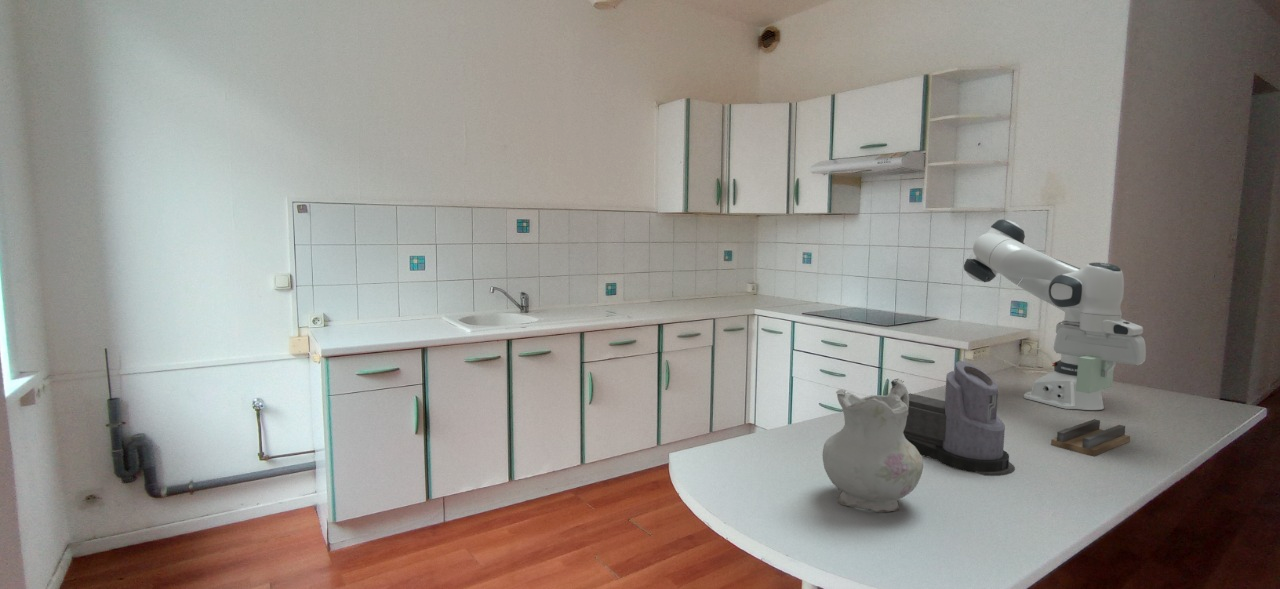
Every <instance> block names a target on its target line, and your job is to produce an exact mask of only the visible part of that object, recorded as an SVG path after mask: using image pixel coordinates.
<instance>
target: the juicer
mask: <svg viewBox="0 0 1280 589" xmlns="http://www.w3.org/2000/svg"><path fill="white" fill-rule="evenodd" d="M945 379H946V381H945V394H944V395H945V398H944V400H942V399H936V398H933V397H929V396H925V395H924V396H923V395H919V394H915V393H908V394H909V408H908V416H907V420H906V426H905V429H904V432H903V434H904V436H905V438H906V439H907V440H908V441H909V442H910V443H911V444H913V445H914V446H915V447H916V449H917V450H918V452H919V453H920V455H921V456H924V457H927V458H931V459H933V460H936V461H938V462H940V464H943V465H946V466H947V467H950V468H953V469H957V470H960V471H964V472H970V473H976V474H978V475H982V476H987V477H996V476H997V477H998V476H999V477H1000V476H1007V475H1009V474H1010V475H1011V474H1012V473H1014V472H1015V471H1016V468H1015V465H1014V464H1013V463H1011V461H1010V454H1009V453H1008V452H1007V451H1005V450H1004V446H1005V445H1004V444H1005V433H1006V432H1005V431H1006V430H1005V429H1006V425H1005V423H1004V422H1003V420H1002V419H1001V418H1000V417H999V416H998V413H997V411H998V397H999V386H998V384H997V382H996V381H995V379H993V378H992V377H991V376H990V375H989V374H988V373H987V372H985V371H984V370H983V369H982V368H980V367H978V366H976V365H974V364H972V363H970V362H967V361H963V360H958V361H957V362H955V370H952V371H949V372H947V373H946V376H945Z"/></svg>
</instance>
